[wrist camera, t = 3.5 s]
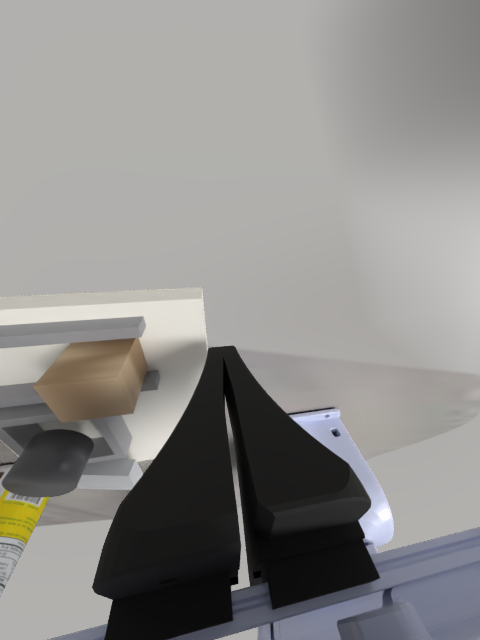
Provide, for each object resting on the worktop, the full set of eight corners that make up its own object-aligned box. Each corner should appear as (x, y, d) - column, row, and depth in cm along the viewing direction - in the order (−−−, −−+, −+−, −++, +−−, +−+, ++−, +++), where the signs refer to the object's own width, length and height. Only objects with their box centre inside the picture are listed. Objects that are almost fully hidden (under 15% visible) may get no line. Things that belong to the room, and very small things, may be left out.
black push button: (82, 425, 12) (61, 464, 10) (101, 453, 13) (86, 490, 12) (18, 433, 11) (-14, 476, 9) (47, 461, 13) (24, 501, 11)
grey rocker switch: (135, 459, 14) (128, 476, 14) (143, 474, 16) (137, 490, 15) (74, 457, 15) (64, 474, 14) (87, 472, 16) (78, 488, 15)
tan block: (137, 334, 11) (117, 377, 8) (147, 367, 12) (133, 413, 9) (74, 338, 10) (32, 386, 8) (92, 372, 11) (61, 422, 9)
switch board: (202, 287, 11) (201, 312, 9) (215, 432, 19) (217, 466, 17) (-98, 301, 10) (-201, 338, 7) (53, 456, 17) (29, 498, 15)
